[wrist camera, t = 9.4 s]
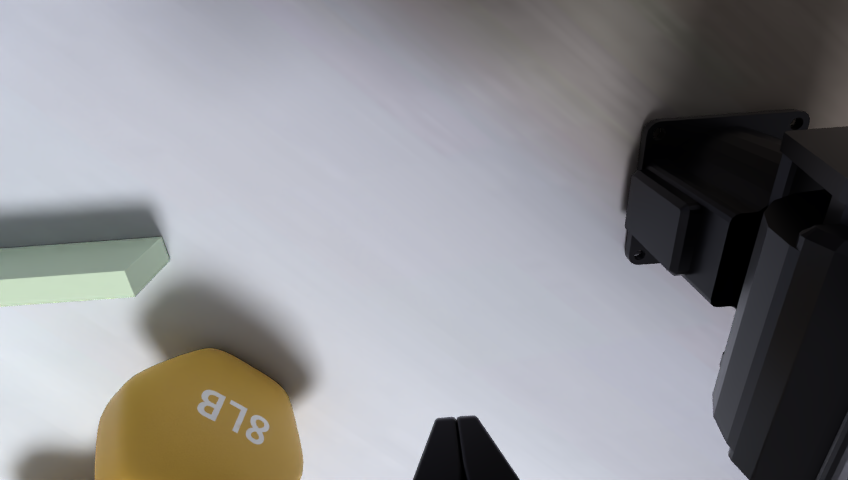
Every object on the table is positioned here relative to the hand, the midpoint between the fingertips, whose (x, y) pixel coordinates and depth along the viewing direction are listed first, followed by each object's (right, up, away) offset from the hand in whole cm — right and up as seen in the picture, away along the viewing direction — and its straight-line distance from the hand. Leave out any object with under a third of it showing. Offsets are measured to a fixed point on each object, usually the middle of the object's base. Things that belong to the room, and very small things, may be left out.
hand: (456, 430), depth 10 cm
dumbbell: (-15, -8, +17) cm, 25 cm away
